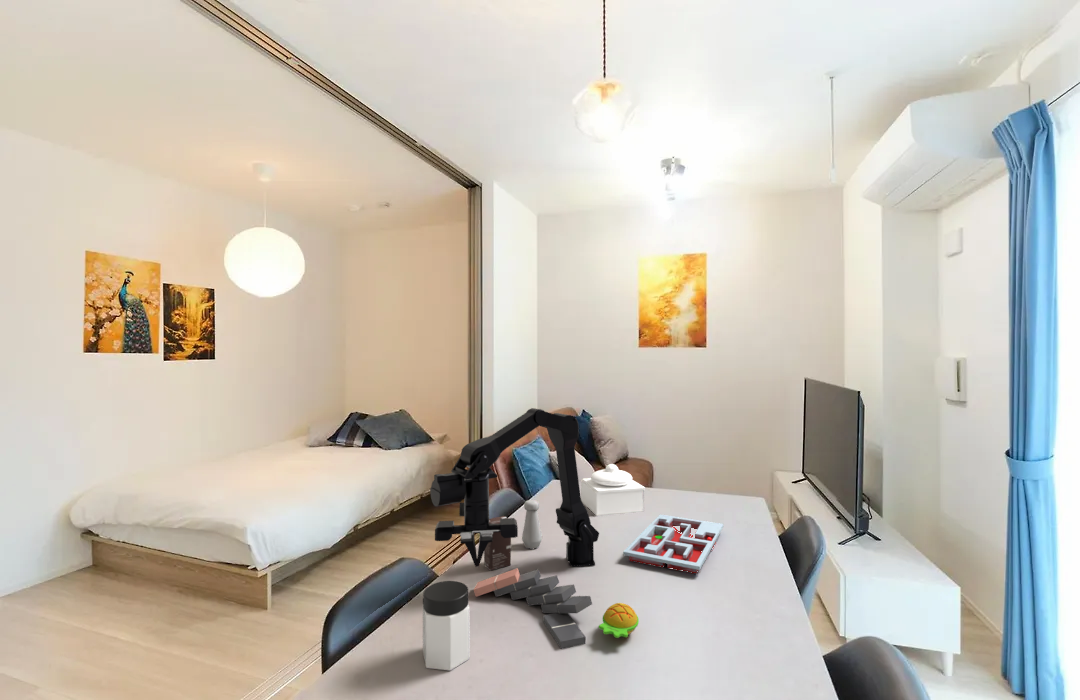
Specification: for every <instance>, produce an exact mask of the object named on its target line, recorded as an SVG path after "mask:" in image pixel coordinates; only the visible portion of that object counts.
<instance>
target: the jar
mask: <svg viewBox="0 0 1080 700" xmlns="http://www.w3.org/2000/svg"><path fill="white" fill-rule="evenodd" d="M470 609H471V608H470V605H469V587H468V585H467V584H465V583H463V582H462V581H461V582H460V581H457V580H456V581H455V580H443V581H439V582H436V583H433V584H431V585H429V586H427V587H426V588H425V589H424V591H423V594H422V655H423V658H424V659H423V660H424V664H425V668H426V669H431V670H439V671H452V670H454V669H456V668H457V667H458V666H461V665H462V664H463V663H465V662H467V661H468V660H470V658H471V636H470V635H471V633H470V632H471V628H470V627H471V625H470V624H471V623H470V622H471V619H470V618H471V617H470V616H471V611H470Z"/></svg>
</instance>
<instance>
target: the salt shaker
mask: <svg viewBox="0 0 1080 700" xmlns="http://www.w3.org/2000/svg"><path fill="white" fill-rule="evenodd" d="M523 504H524V505H523V508H524V510H525V516H524V524H523V529H522V536H521V540H522V543H523V544H524V548H525V549H528V548H530V549H529V550H534V549H533V548H536V549H538V548H539V547H540V545H541V543H542V540H543V536H542V529H541V524H540V519H539V513H538V510H539V508H540V503H539V501H538V500H535V499H528V500H526V501H525V502H524V503H523Z"/></svg>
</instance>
